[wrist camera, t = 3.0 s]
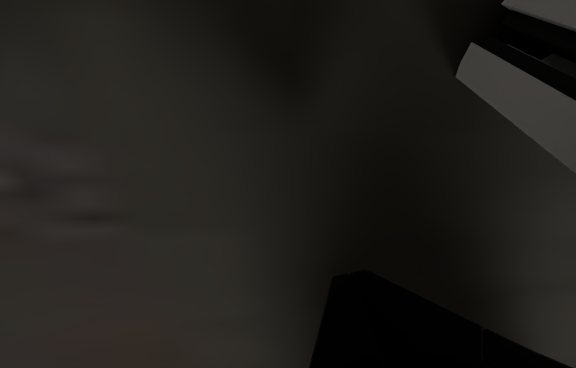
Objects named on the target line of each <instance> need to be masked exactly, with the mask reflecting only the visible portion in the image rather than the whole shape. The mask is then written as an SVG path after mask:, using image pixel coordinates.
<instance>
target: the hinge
mask: <svg viewBox="0 0 576 368" xmlns="http://www.w3.org/2000/svg"><path fill="white" fill-rule="evenodd" d="M501 4H502V5H503V6H505V7H506V8H508V9H509V10H511V12H510V13H509V14H508V15H507V17H506V18H505V19H504V20H503V22H502V23H503V24H504V25H506V26H507V27H509V28H510V29H512V30H514V31H515V32H517V33H518V34H520V35H521V36H523V37H524V38H526V39H528V40H529V41H531V42H532V43H534V44H535V45H537V46H538V47H540V48H542V49H545V50H547V51H549V52H551V53H552V54H551V55H549V56H548V57H546V58H544V59H542V60H539V59H536V58H534V57H532V56H530V55H528V54H526V53H524V52H522V51H520V50H518V49H516V48H514V47H512V46H510V45H508V44H506V43H504V42H502V41H500V40H498V39H496V38H494V37H492V36H491V37H490V38H489V40H488V41H487V42H486V43H485V44H484V46H483V47H482V48H481V47H480V46H478V45H476V44H474V43H473V42H471V44H470V46H469V48H468V49H467V51H466V53H465V55H464V57H463V59H462V61H461V63H460V65H459V68H458V71H457V74H456V78H457V79H458V80H459V81H460V82H462V83H463V84H464V85H465V86H467V87H468V88H469V89H470V90H472V91H473V92H474V93H475V94H477V95H478V96H479V97H480V98H482V99H483V100H484V101H485V102H487V103H488V104H489V105H490V106H492V107H493V108H494V109H495V110H497V111H498V112H499V113H500V114H502V115H503V116H504V117H505V118H507V119H508V120H509V121H510V122H512V123H513V124H514V125H515V126H517V127H518V128H519V129H520V130H522V131H523V132H524V133H525V134H527V135H528V136H529V137H530V138H532V139H533V140H534V141H535V142H537V143H538V144H539V145H540V146H542V147H543V148H544V149H545V150H547V151H548V152H549V153H550V154H552V155H553V156H554V157H555V158H557V159H558V160H559V161H560V162H562V163H563V164H564V165H565V166H567V167H568V168H569V169H570V170H572V171H573V172H574V173H575V174H576V0H504V1H503V2H502V3H501Z"/></svg>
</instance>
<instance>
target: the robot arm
mask: <svg viewBox="0 0 576 368" xmlns="http://www.w3.org/2000/svg"><path fill="white" fill-rule="evenodd" d="M309 368H573V367H570V366H568V365H565V364H563V363H561V362H558V361H556V360H554V359H551V358H549V357H546V356H544V355H542V354H539V353H537V352H535V351H532V350H530V349H528V348H526V347H524V346H522V345H519V344H517V343H515V342H513V341H511V340H509V339H507V338H504V337H502V336H500V335H498V334H496V333H494V332H492V331H490V330H488V329H485V330H484V328H483V327H482V326H480V325H478V324H476V323H474V322H472V321H470V320H468V319H465V318H463V317H461V316H459V315H457V314H455V313H453V312H451V311H449V310H447V309H445V308H443V307H441V306H439V305H437V304H435V303H433V302H431V301H429V300H427V299H425V298H423V297H421V296H419V295H417V294H415V293H413V292H411V291H408V290H406V289H404V288H402V287H400V286H398V285H396V284H394V283H392V282H390V281H388V280H386V279H384V278H382V277H380V276H378V275H376V274H374V273H372V272H370V271H368V270H361V271H356V272H352V273H351V274H350V275H349V274H343V275H339V276H334V277H333V278H332V281H331V285H330V289H329V293H328V297H327V300H326V304H325V308H324V312H323V316H322V320H321V324H320V328H319V332H318V336H317V339H316V343H315V347H314V351H313V355H312V359H311V363H310V367H309Z"/></svg>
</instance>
